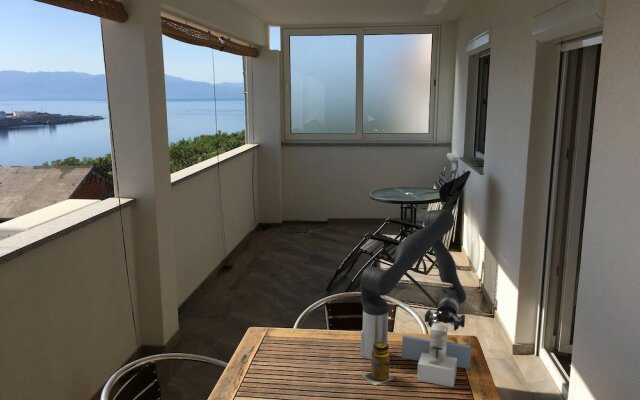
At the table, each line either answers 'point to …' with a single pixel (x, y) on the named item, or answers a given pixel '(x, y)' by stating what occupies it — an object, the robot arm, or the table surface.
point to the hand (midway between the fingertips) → (442, 326)
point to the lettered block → (438, 344)
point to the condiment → (379, 364)
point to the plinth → (437, 371)
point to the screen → (417, 346)
